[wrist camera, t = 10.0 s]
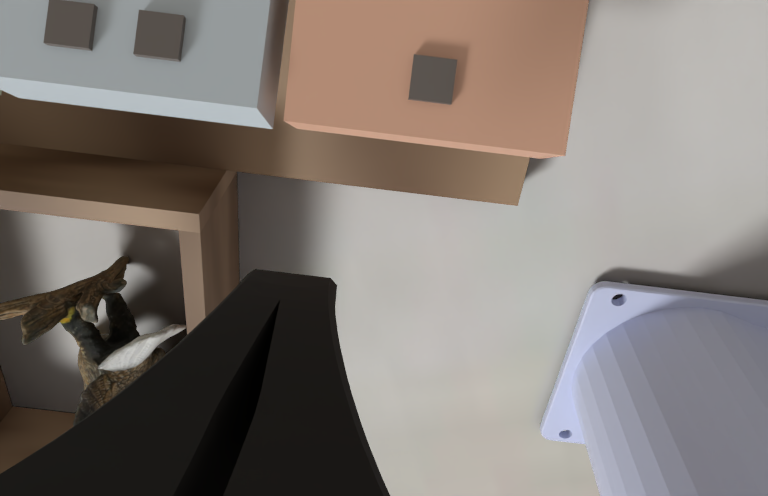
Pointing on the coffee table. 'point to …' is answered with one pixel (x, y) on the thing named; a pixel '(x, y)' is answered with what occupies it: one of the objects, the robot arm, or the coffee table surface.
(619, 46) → the coffee table surface
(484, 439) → the coffee table surface
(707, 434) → the robot arm
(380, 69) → the tile
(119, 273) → the eagle figurine
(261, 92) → the tile
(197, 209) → the board
